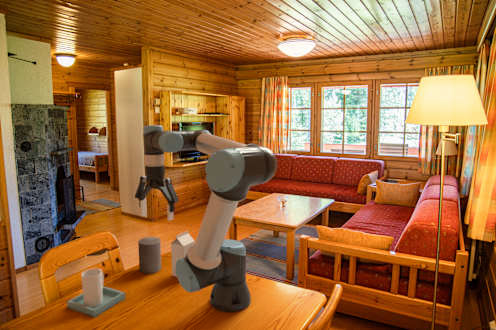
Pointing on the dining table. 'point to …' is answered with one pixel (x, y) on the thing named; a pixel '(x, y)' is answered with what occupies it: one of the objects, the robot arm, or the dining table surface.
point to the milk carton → (180, 248)
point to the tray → (109, 300)
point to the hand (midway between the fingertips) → (157, 217)
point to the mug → (92, 287)
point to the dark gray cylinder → (149, 255)
